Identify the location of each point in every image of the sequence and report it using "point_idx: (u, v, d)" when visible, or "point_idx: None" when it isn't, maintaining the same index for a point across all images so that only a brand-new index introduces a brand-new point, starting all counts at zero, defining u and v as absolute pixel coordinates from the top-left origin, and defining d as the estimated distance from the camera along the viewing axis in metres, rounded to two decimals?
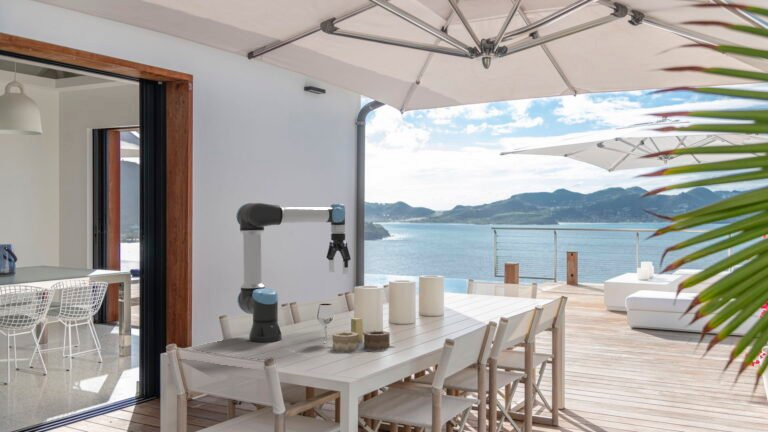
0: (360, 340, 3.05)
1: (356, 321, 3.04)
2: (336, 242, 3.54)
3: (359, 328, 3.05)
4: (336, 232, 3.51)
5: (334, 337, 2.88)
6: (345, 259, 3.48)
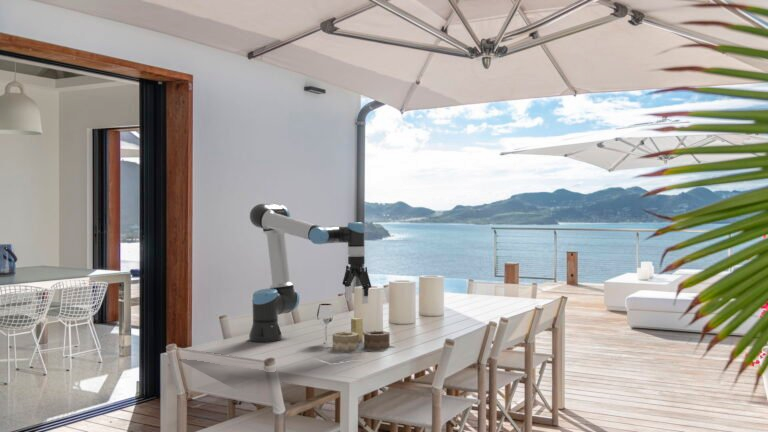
0: (360, 340, 3.05)
1: (356, 321, 3.04)
2: (354, 266, 3.06)
3: (359, 328, 3.05)
4: (354, 255, 3.03)
5: (334, 337, 2.88)
6: (365, 287, 2.99)
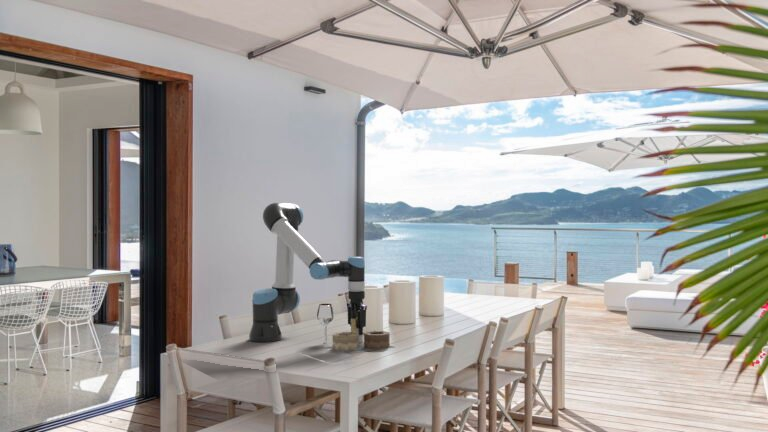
0: None
1: (356, 321, 3.04)
2: (354, 301, 3.06)
3: None
4: (354, 290, 3.03)
5: (334, 337, 2.88)
6: (359, 325, 3.03)
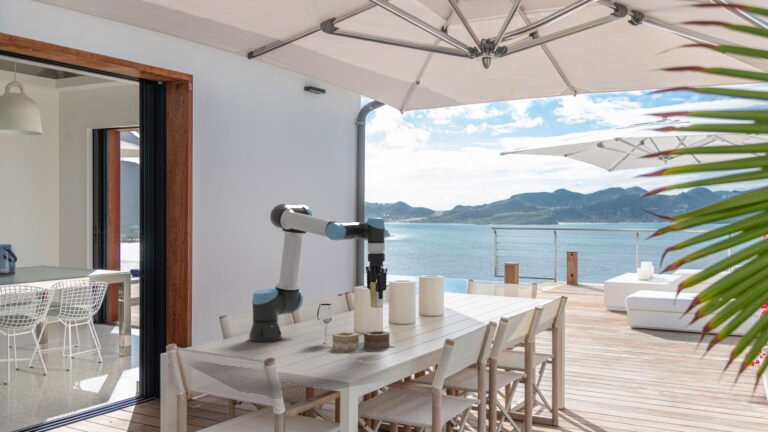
0: None
1: (376, 285, 2.91)
2: (374, 264, 2.93)
3: None
4: (374, 252, 2.90)
5: (334, 337, 2.88)
6: None
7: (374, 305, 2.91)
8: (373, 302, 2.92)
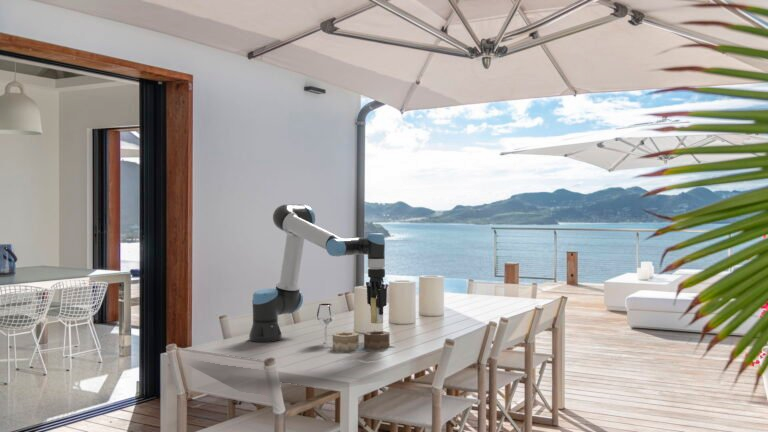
0: None
1: None
2: (374, 279, 2.93)
3: None
4: (374, 268, 2.90)
5: (334, 337, 2.88)
6: None
7: (375, 321, 2.91)
8: (374, 317, 2.92)
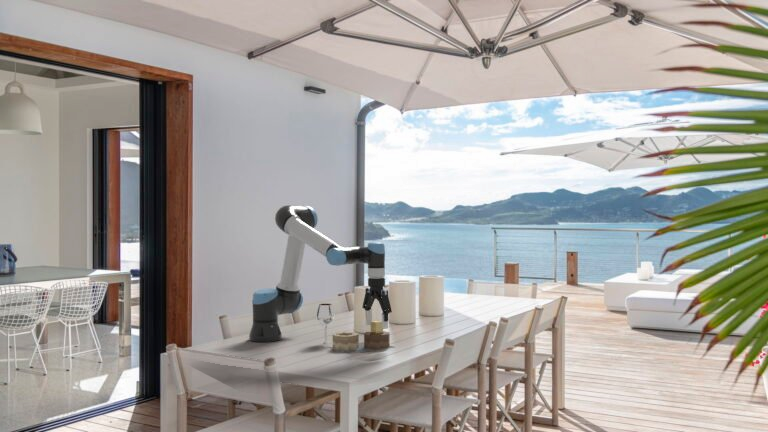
0: None
1: (377, 324, 2.91)
2: (374, 289, 2.93)
3: (379, 331, 2.92)
4: (374, 277, 2.90)
5: (334, 337, 2.88)
6: (385, 311, 2.87)
7: None
8: None
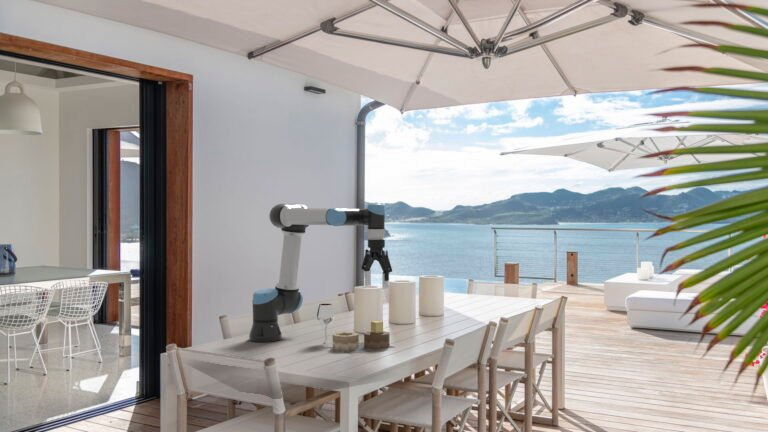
0: None
1: (377, 325, 2.91)
2: (374, 250, 2.93)
3: (380, 331, 2.92)
4: (374, 238, 2.90)
5: (334, 337, 2.88)
6: (385, 271, 2.87)
7: None
8: None
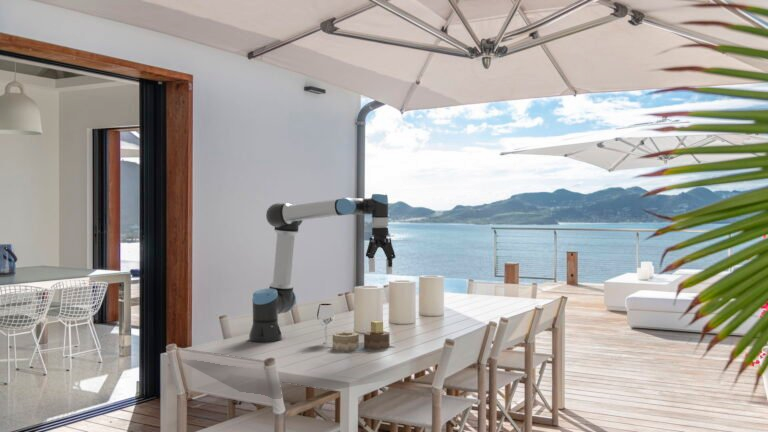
0: None
1: (377, 325, 2.91)
2: (378, 238, 3.07)
3: (380, 331, 2.92)
4: (378, 226, 3.05)
5: (334, 337, 2.88)
6: (389, 257, 3.01)
7: None
8: None
